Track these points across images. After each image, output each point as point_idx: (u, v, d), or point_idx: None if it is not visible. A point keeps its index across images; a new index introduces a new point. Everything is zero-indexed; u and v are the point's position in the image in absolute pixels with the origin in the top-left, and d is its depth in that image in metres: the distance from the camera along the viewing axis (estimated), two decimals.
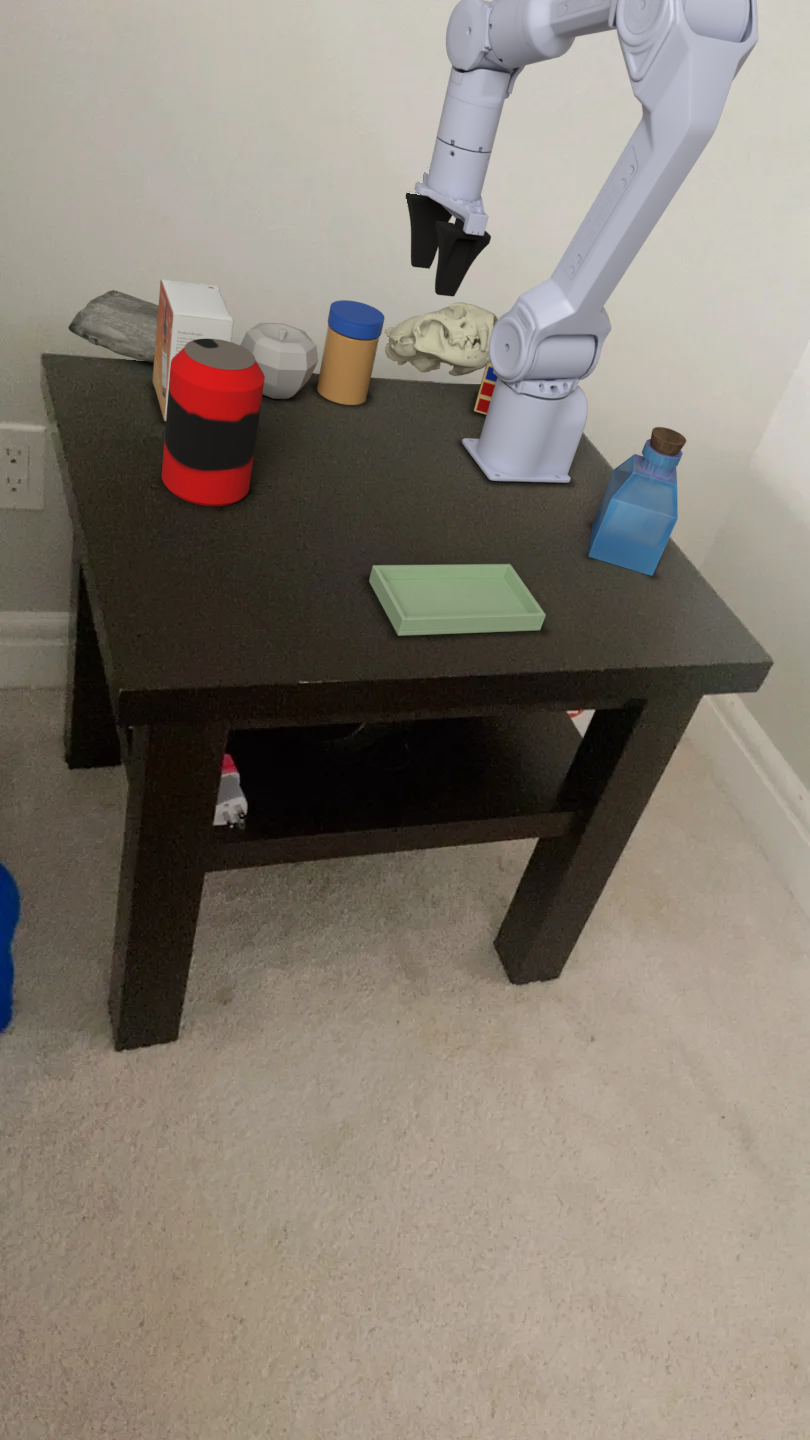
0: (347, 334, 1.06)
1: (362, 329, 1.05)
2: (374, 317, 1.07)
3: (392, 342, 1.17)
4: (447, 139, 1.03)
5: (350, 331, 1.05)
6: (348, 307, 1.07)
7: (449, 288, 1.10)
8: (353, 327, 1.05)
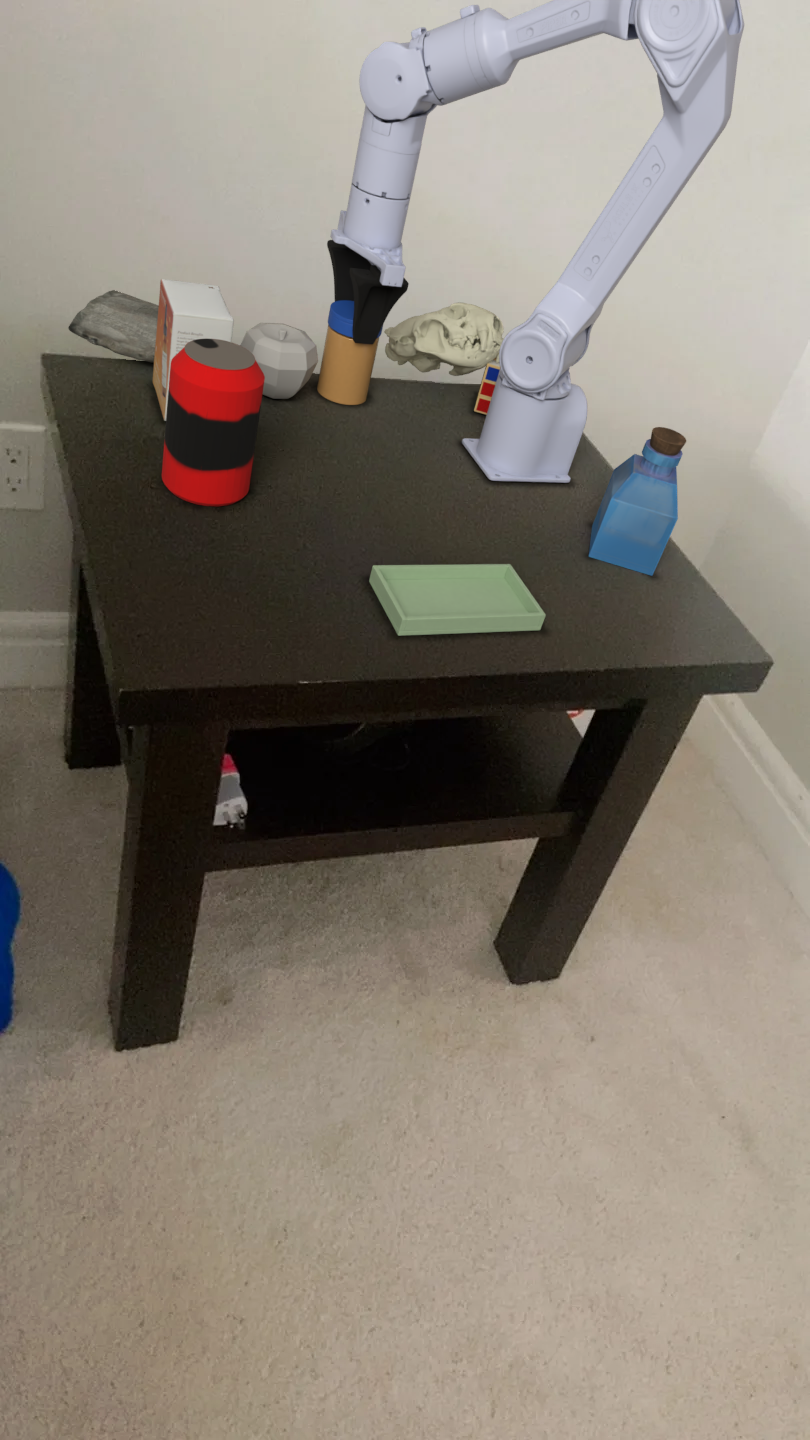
0: (347, 334, 1.06)
1: None
2: None
3: (392, 342, 1.17)
4: (377, 192, 0.97)
5: (350, 331, 1.05)
6: (348, 307, 1.07)
7: (367, 336, 1.05)
8: None
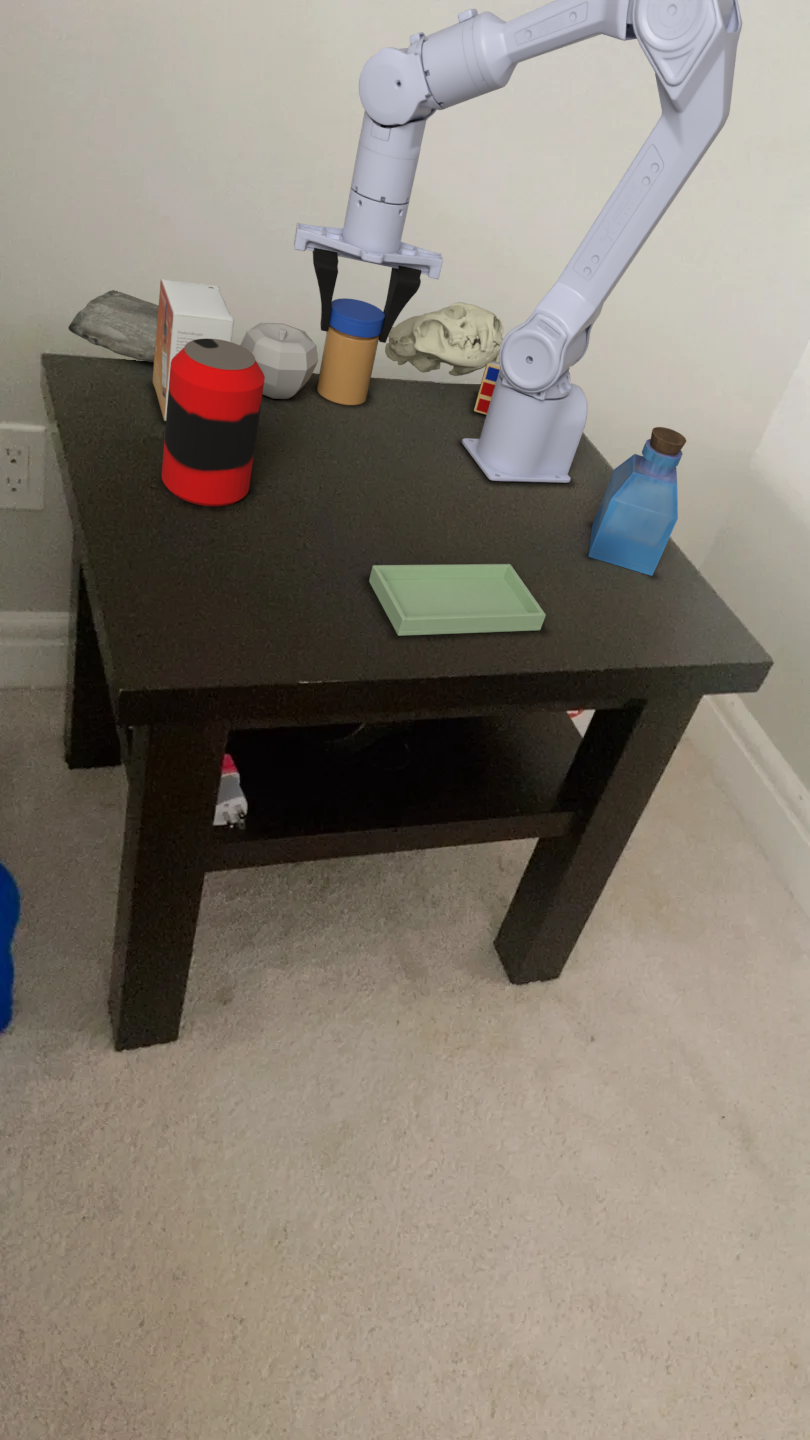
0: (378, 334, 1.07)
1: None
2: (368, 306, 1.08)
3: (392, 342, 1.17)
4: (376, 196, 0.97)
5: (380, 330, 1.07)
6: (349, 310, 1.06)
7: None
8: (381, 324, 1.07)
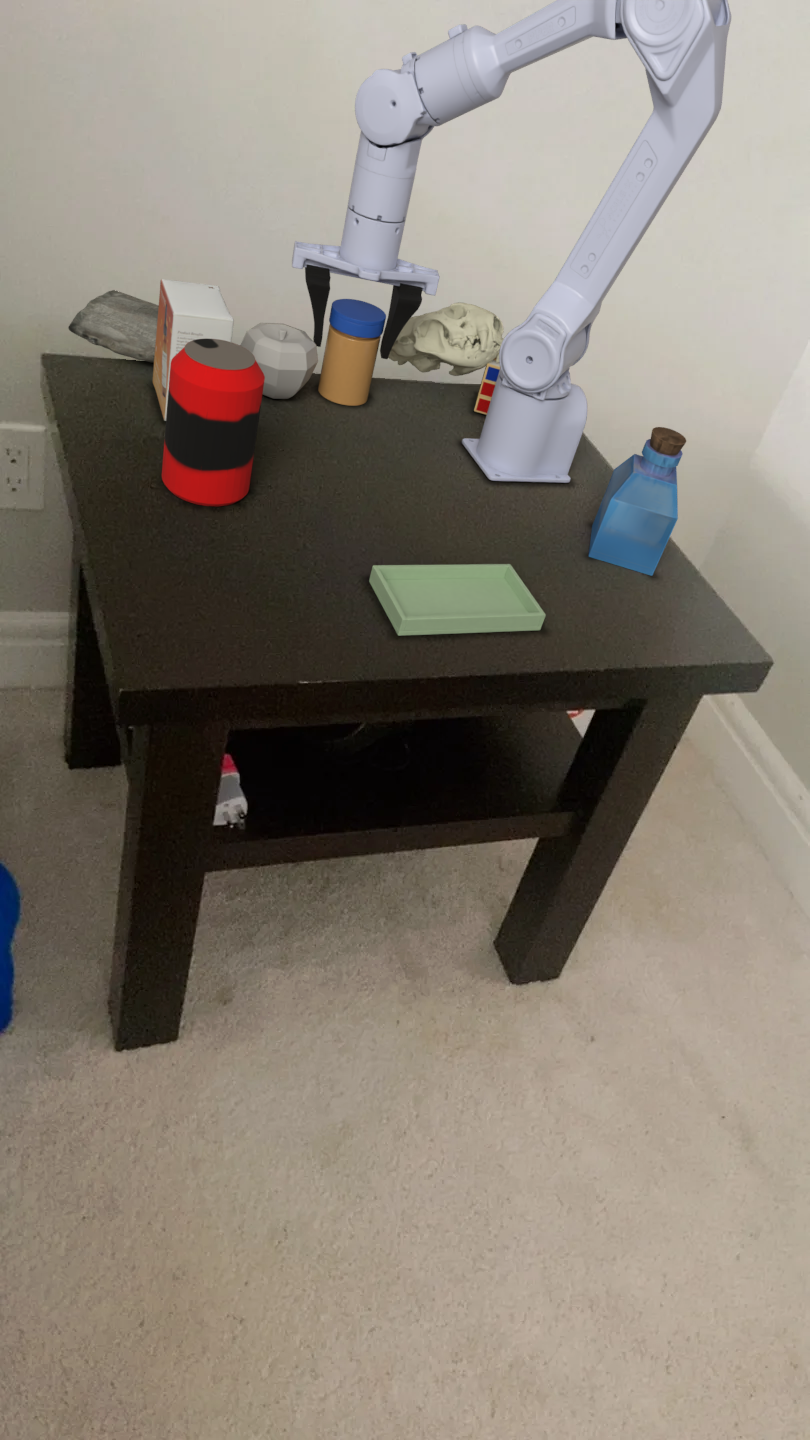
0: (379, 334, 1.07)
1: (384, 322, 1.07)
2: (369, 306, 1.08)
3: None
4: (372, 215, 0.98)
5: (381, 330, 1.07)
6: (351, 311, 1.06)
7: None
8: (383, 325, 1.07)
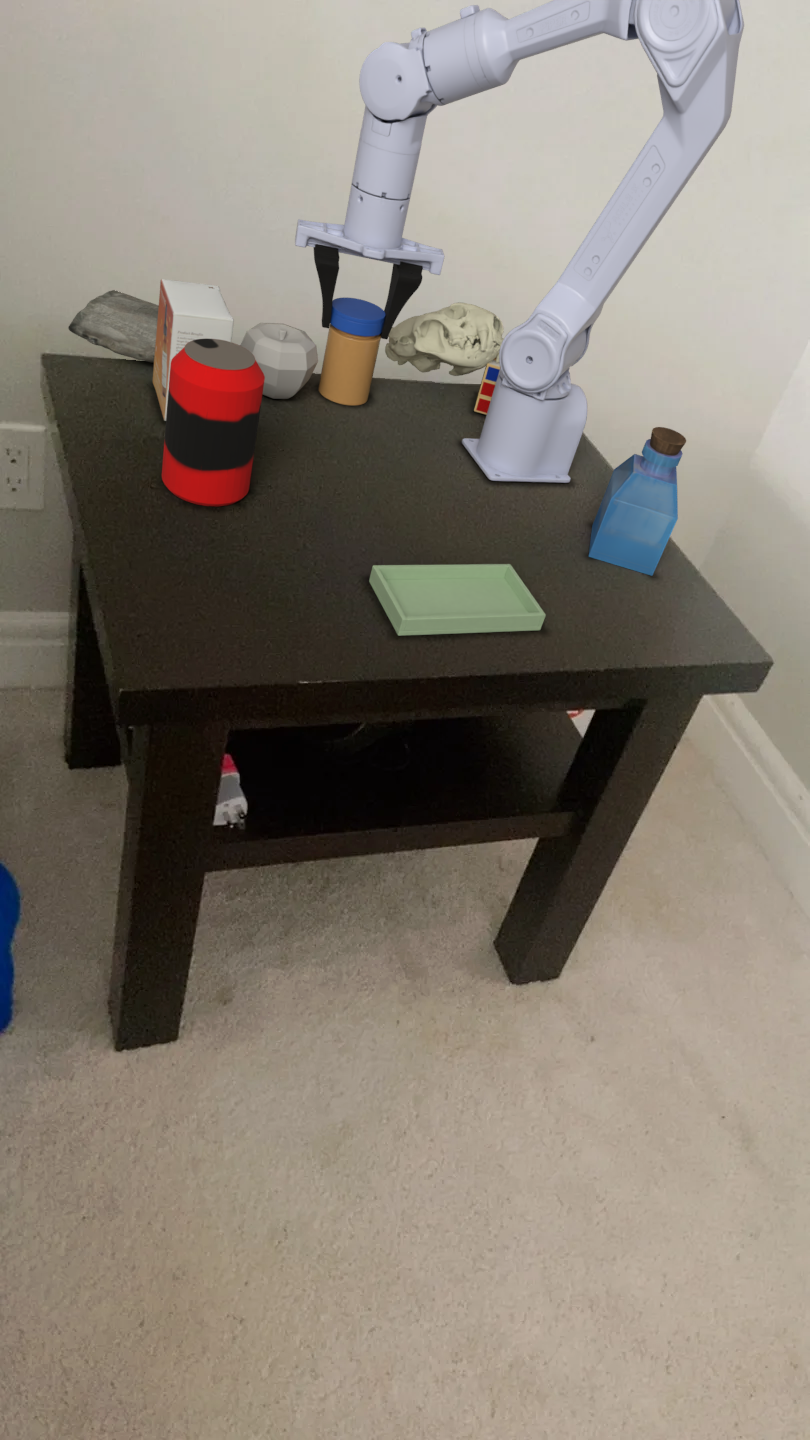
0: None
1: None
2: (347, 301, 1.08)
3: (392, 342, 1.17)
4: (377, 192, 0.97)
5: None
6: (363, 313, 1.06)
7: None
8: None
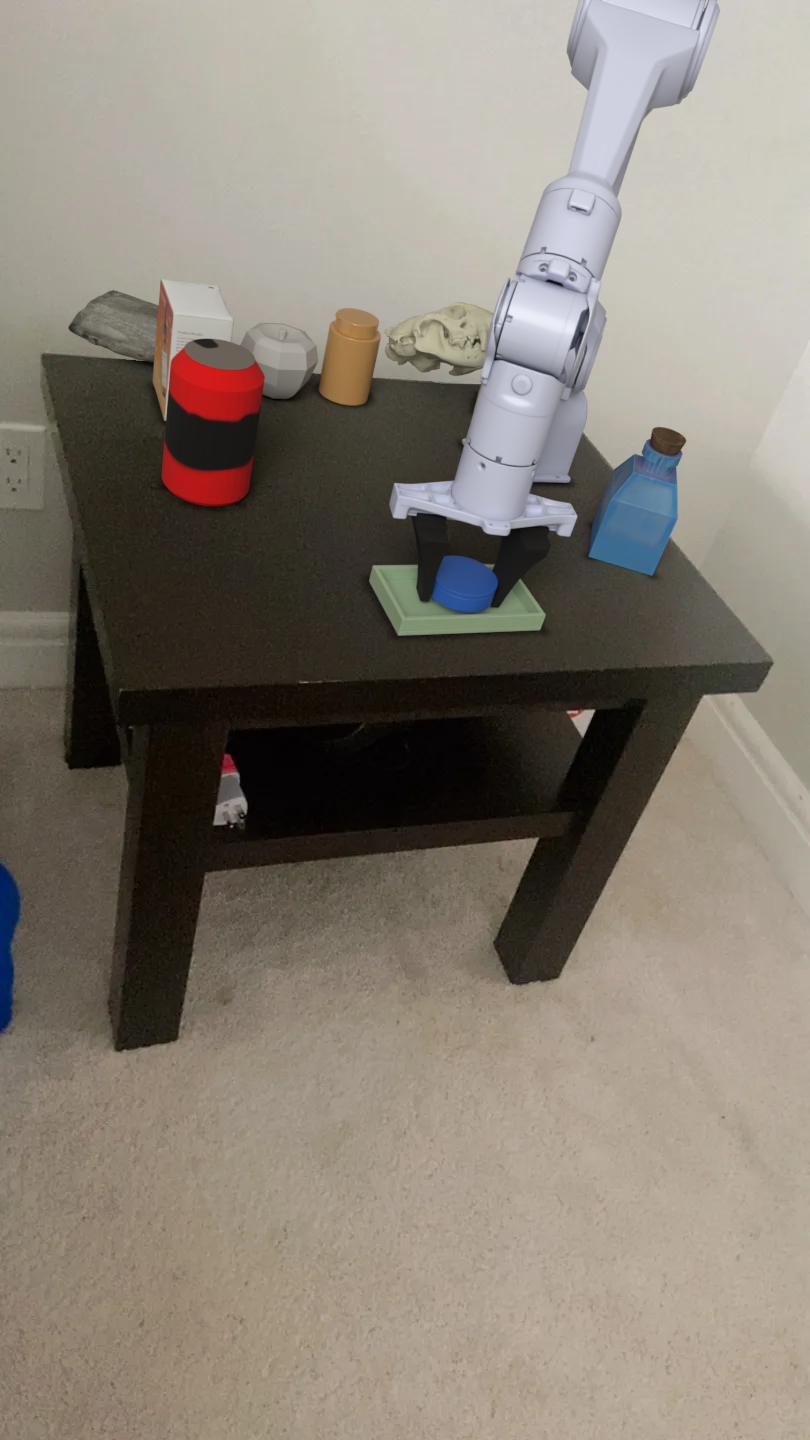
0: None
1: None
2: (448, 563, 0.85)
3: (392, 342, 1.17)
4: None
5: None
6: (472, 582, 0.84)
7: None
8: None
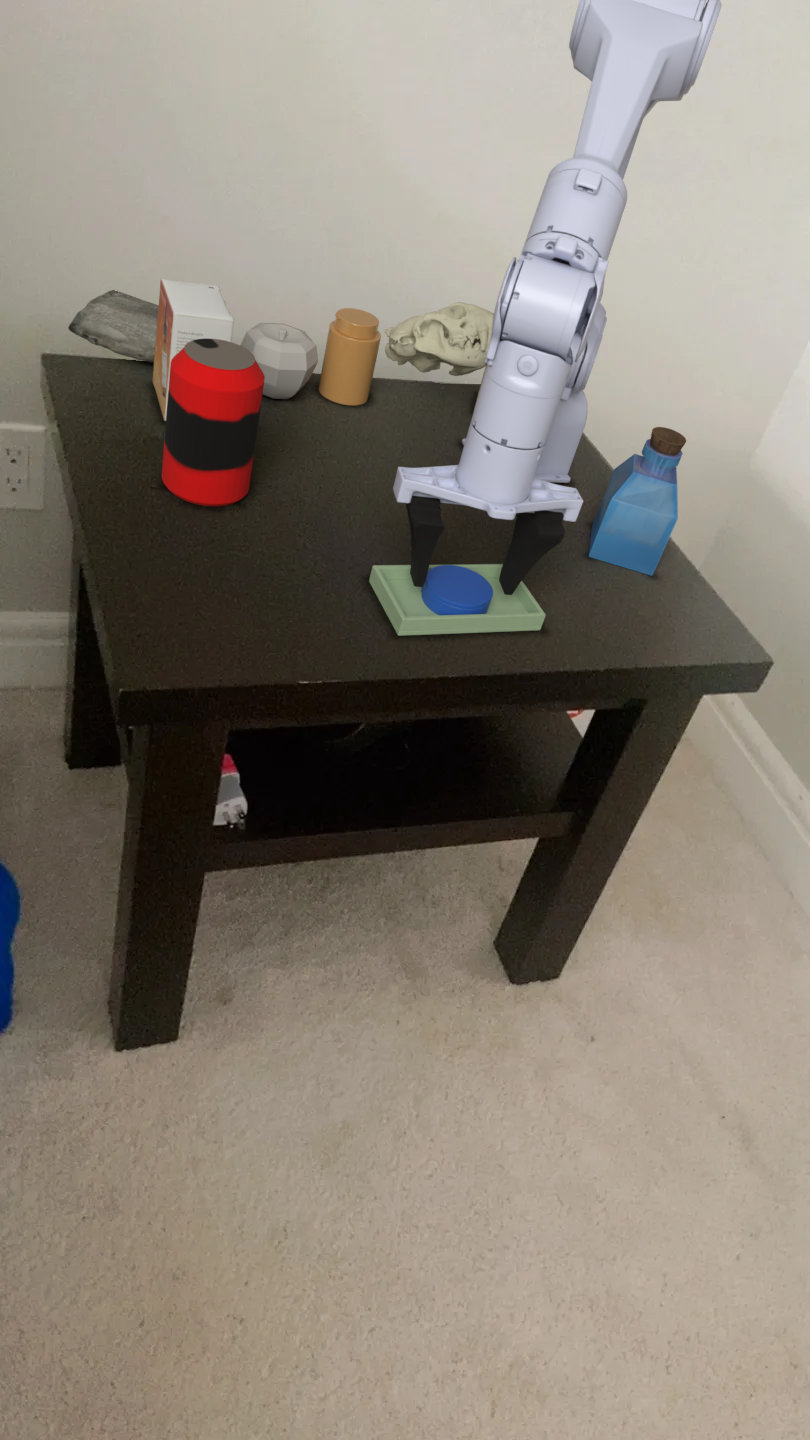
0: None
1: None
2: (443, 572, 0.86)
3: (392, 342, 1.17)
4: None
5: None
6: (467, 592, 0.85)
7: None
8: None
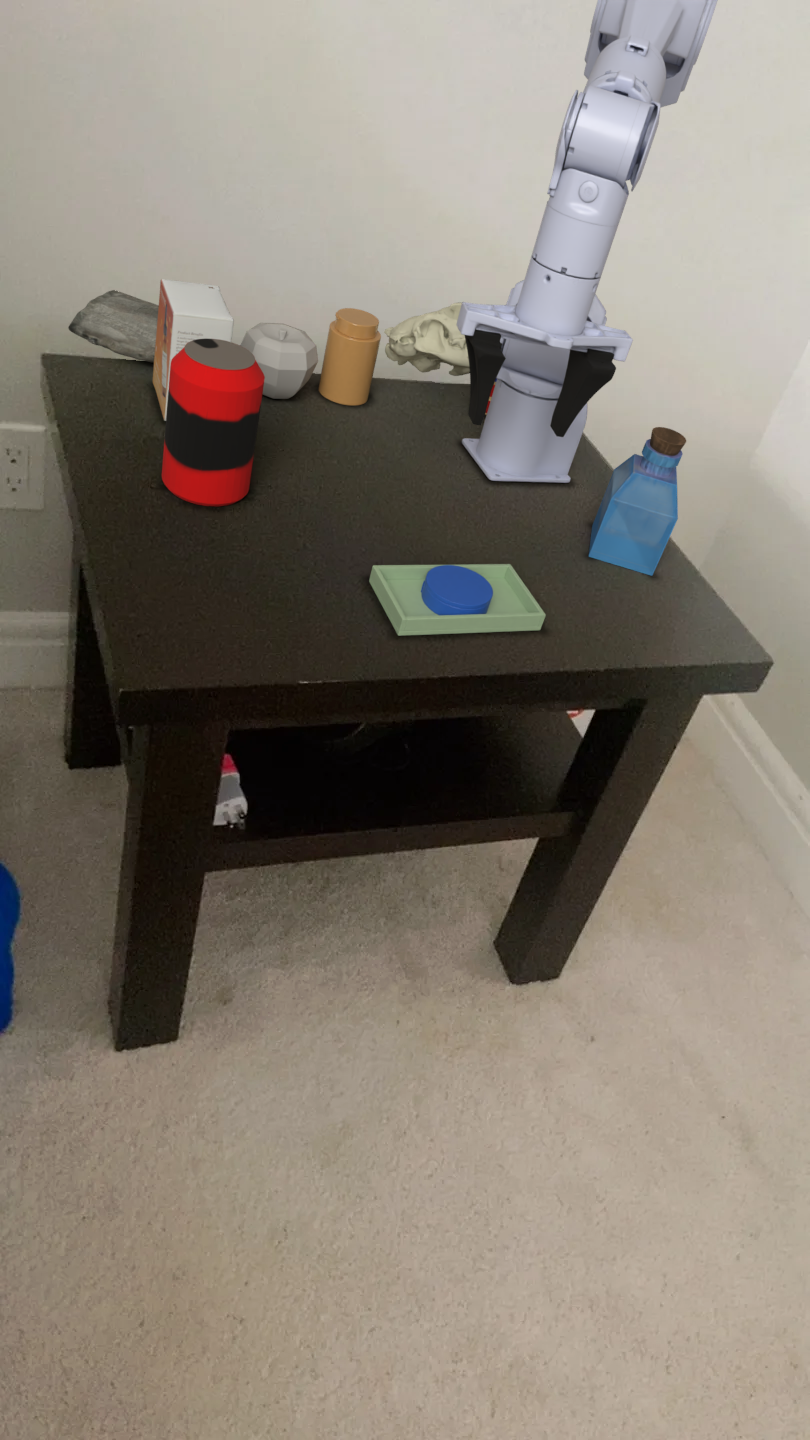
0: None
1: None
2: (443, 572, 0.86)
3: (392, 342, 1.17)
4: None
5: None
6: (467, 592, 0.85)
7: None
8: None
